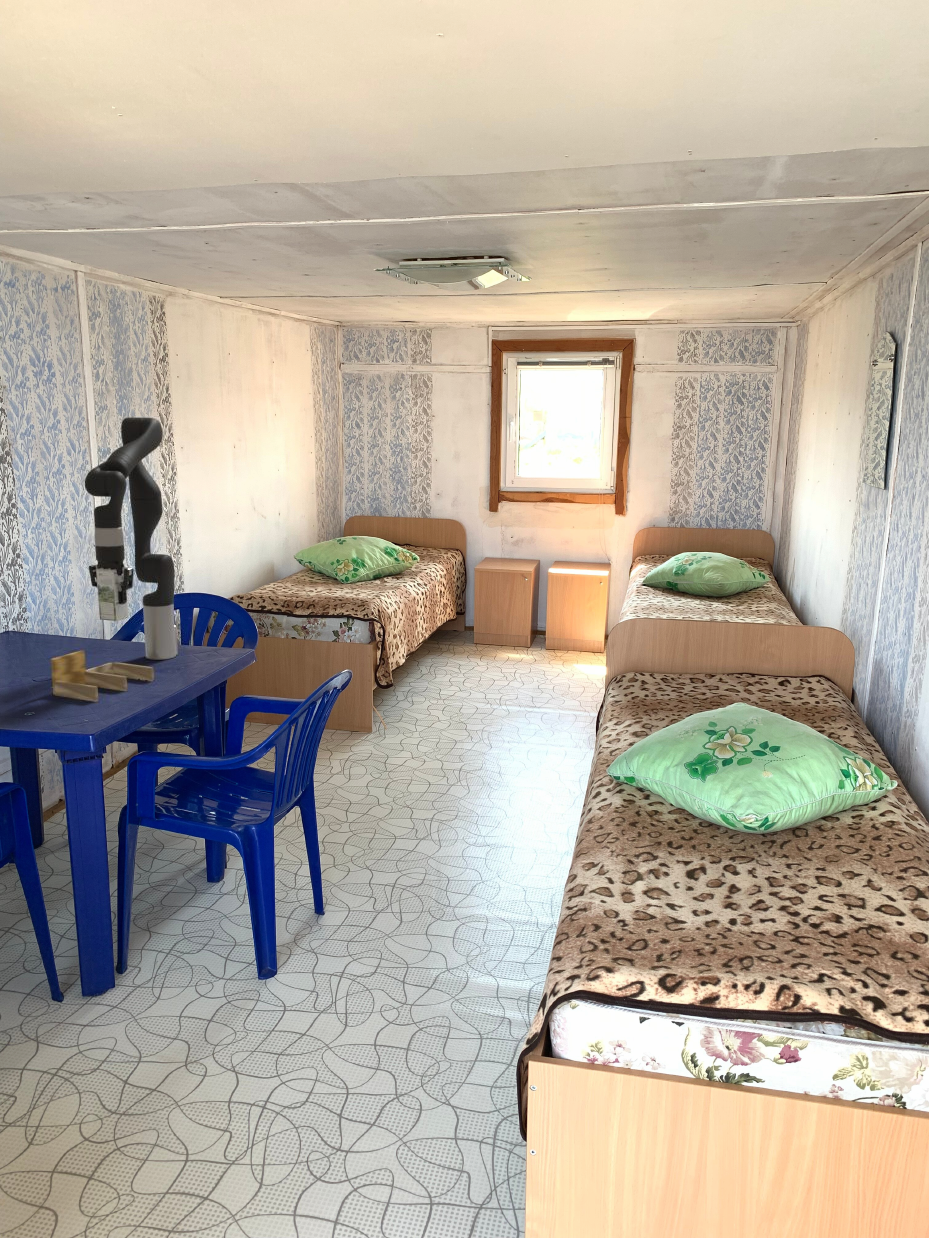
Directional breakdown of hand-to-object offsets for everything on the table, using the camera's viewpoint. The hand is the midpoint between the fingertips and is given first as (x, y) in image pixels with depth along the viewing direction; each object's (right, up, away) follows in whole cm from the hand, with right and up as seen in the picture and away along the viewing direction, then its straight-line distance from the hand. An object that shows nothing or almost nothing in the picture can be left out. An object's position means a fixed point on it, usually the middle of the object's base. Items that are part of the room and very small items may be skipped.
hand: (113, 602), depth 250 cm
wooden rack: (-2, -24, +1) cm, 24 cm away
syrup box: (0, -5, +1) cm, 5 cm away
